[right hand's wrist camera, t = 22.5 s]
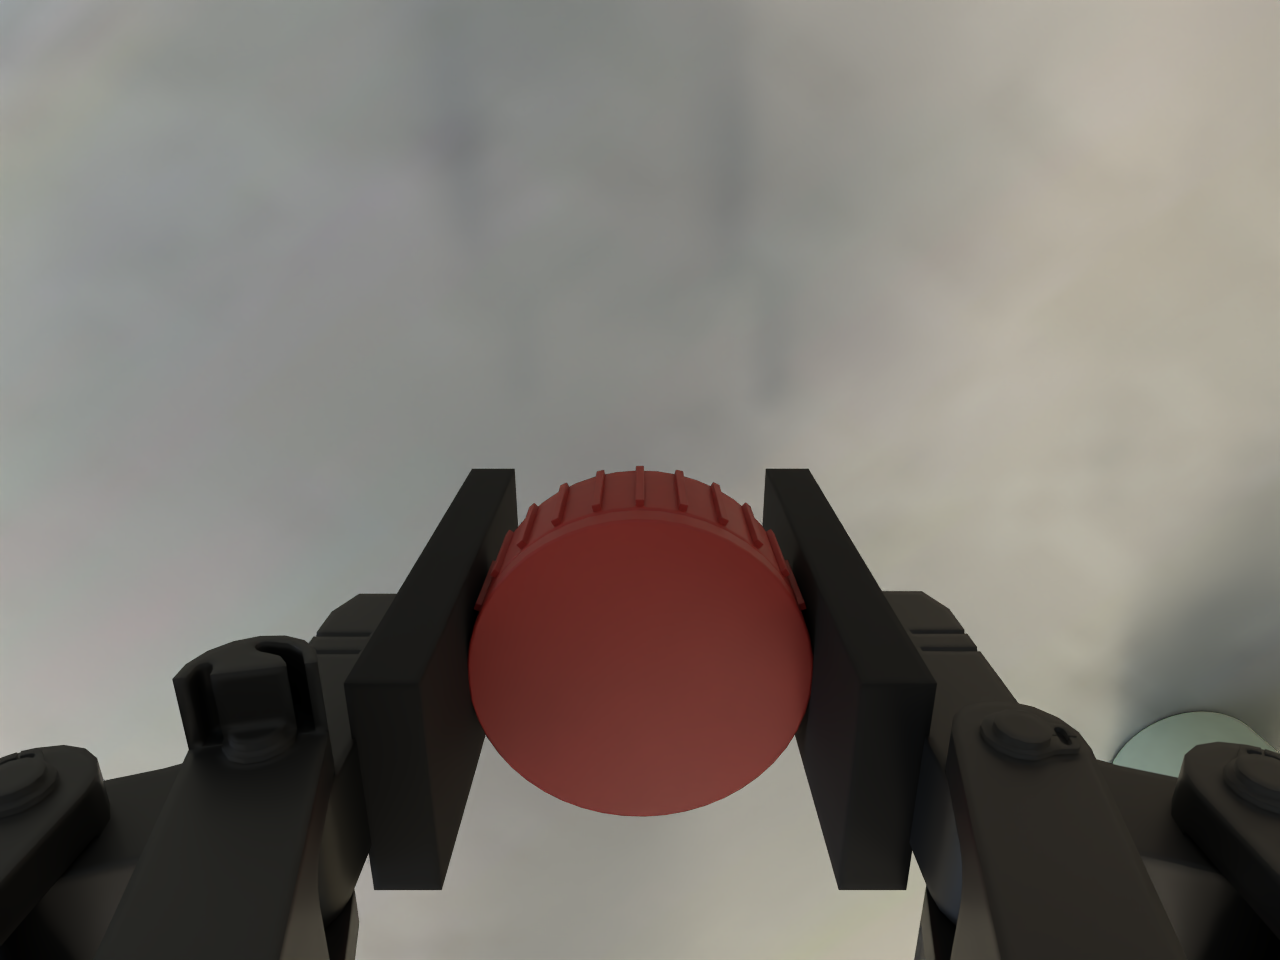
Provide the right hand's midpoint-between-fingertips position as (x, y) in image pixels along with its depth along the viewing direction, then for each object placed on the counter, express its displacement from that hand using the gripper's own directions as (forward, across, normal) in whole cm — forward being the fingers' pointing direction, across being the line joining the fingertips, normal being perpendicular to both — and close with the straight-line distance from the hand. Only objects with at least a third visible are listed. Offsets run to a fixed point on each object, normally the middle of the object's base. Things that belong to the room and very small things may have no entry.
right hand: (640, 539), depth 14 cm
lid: (-4, 0, 0) cm, 4 cm away
